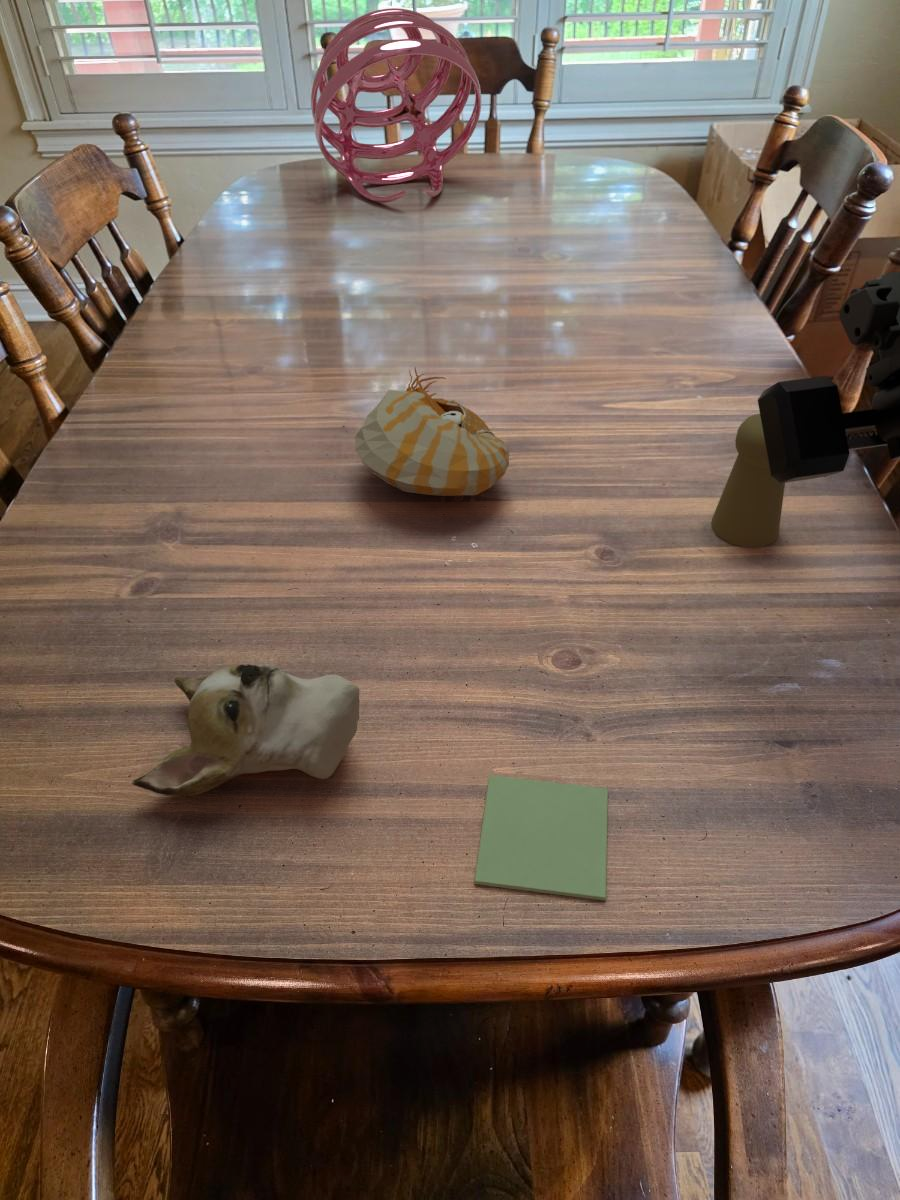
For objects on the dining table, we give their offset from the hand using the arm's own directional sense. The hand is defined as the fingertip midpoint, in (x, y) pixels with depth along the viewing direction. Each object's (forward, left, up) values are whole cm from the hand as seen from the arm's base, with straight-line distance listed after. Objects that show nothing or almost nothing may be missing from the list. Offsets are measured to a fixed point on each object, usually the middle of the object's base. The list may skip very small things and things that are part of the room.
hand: (830, 446), depth 65 cm
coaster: (+19, +28, -13) cm, 36 cm away
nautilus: (+33, -14, -14) cm, 38 cm away
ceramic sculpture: (+39, +24, -14) cm, 47 cm away
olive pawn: (+3, -7, -14) cm, 16 cm away
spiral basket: (+53, -99, -14) cm, 113 cm away
